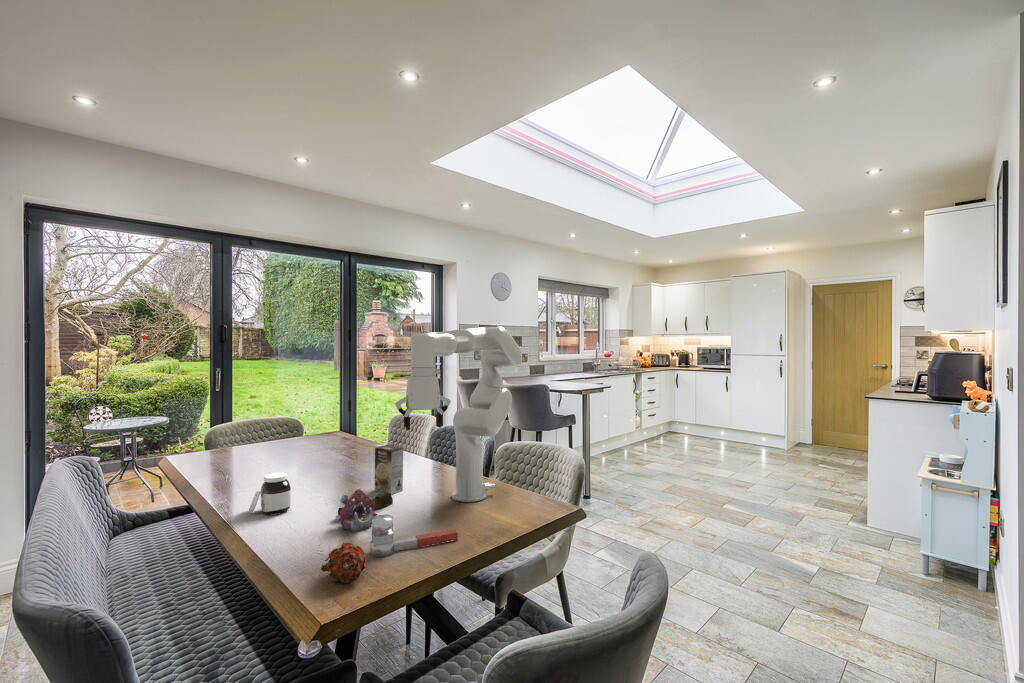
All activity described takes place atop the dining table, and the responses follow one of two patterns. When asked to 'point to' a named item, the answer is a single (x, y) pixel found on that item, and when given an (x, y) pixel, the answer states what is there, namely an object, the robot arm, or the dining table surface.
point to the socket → (382, 530)
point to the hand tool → (378, 501)
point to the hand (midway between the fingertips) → (423, 428)
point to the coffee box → (388, 469)
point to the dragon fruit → (345, 563)
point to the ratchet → (413, 542)
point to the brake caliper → (356, 511)
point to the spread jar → (273, 494)
